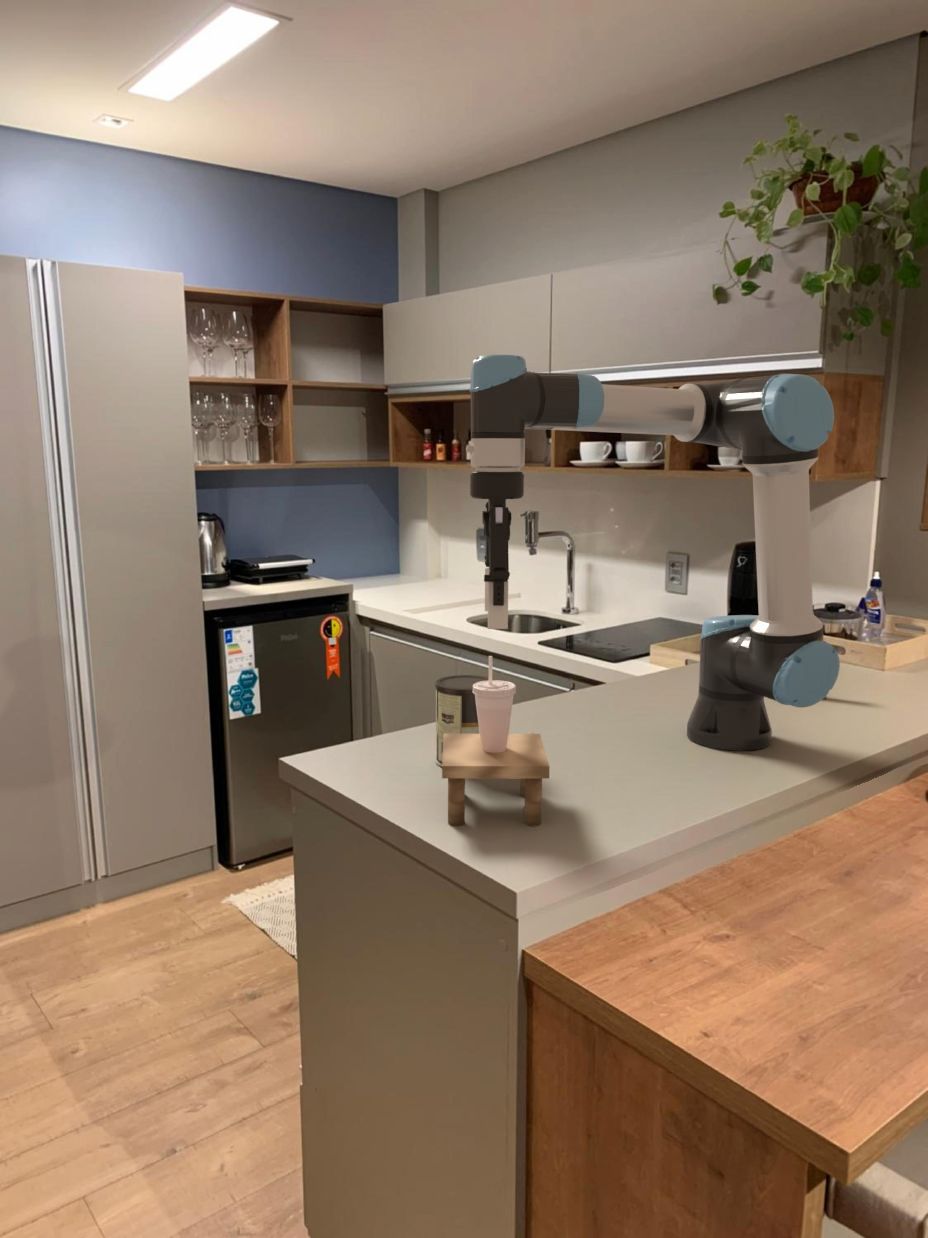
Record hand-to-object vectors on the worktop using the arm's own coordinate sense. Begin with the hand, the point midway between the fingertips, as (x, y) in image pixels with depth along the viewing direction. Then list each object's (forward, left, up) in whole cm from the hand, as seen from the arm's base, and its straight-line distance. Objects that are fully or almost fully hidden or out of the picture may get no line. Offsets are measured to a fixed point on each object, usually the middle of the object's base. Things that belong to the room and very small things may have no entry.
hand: (495, 619), depth 135 cm
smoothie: (0, 0, -20) cm, 20 cm away
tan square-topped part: (0, 0, -29) cm, 29 cm away
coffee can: (+4, -21, -29) cm, 36 cm away
